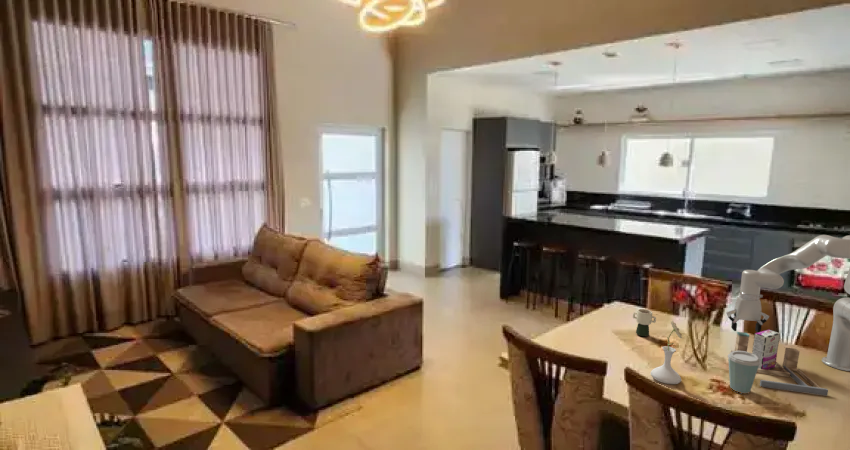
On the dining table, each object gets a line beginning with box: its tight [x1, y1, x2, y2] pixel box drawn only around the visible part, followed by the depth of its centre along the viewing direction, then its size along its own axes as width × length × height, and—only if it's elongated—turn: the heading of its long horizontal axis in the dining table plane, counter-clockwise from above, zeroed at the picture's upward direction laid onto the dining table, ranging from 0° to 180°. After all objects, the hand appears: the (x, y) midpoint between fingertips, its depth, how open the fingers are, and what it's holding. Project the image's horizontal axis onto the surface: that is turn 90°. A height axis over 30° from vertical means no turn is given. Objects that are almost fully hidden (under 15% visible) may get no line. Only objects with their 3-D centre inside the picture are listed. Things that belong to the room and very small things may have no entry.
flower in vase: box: [650, 320, 683, 385], centre depth 189 cm, size 13×11×25 cm
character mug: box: [632, 308, 657, 337], centre depth 237 cm, size 11×7×13 cm, turn 54°
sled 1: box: [730, 331, 791, 378], centre depth 209 cm, size 16×23×10 cm
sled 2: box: [782, 347, 822, 388], centre depth 195 cm, size 5×22×9 cm, turn 165°
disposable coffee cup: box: [727, 350, 760, 394], centre depth 183 cm, size 11×11×15 cm
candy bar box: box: [751, 329, 781, 370], centre depth 203 cm, size 11×5×16 cm, turn 116°
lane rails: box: [759, 365, 829, 397], centre depth 194 cm, size 23×21×2 cm
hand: (745, 331), depth 218 cm, fingers open, 9 cm apart
